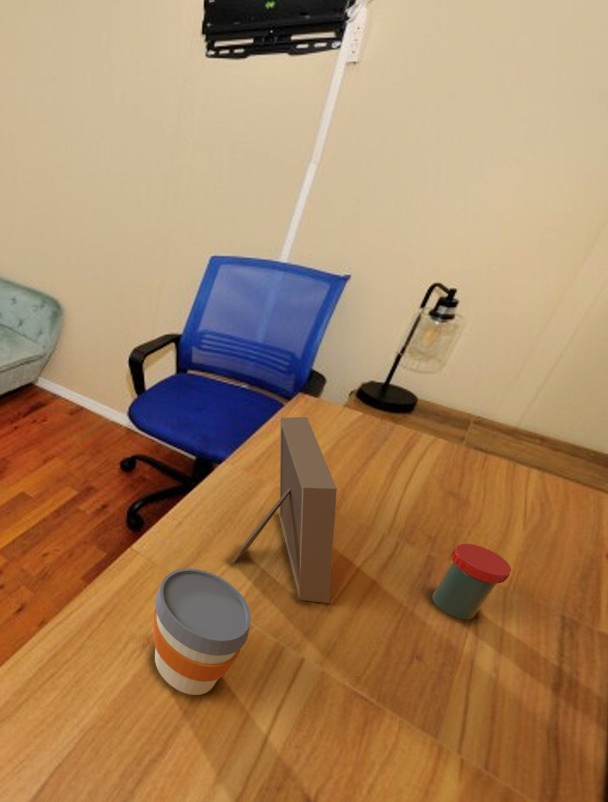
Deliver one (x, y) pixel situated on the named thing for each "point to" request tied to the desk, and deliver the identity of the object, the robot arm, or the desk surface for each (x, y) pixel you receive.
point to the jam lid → (481, 563)
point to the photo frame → (304, 510)
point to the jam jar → (461, 593)
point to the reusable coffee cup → (198, 629)
